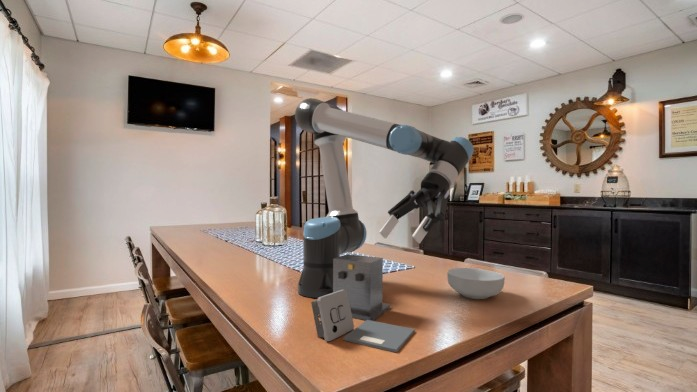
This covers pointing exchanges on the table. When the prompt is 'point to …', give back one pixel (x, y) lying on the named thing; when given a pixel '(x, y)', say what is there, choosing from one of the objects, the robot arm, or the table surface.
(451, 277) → the cereal bowl
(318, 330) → the electrical switch
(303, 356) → the table surface
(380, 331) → the pad
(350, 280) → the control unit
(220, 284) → the table surface
